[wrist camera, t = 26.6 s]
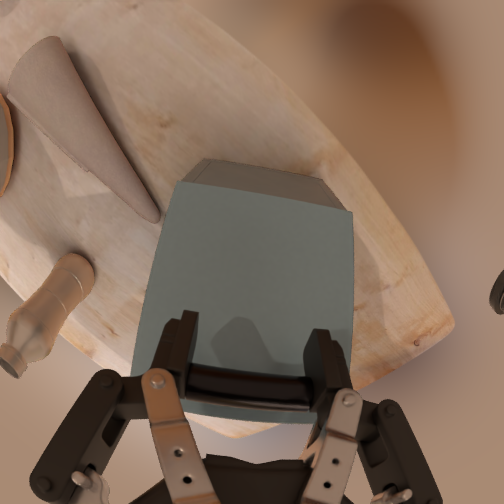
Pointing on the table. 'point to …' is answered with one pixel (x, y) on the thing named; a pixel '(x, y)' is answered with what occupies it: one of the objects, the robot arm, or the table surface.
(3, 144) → the desk lamp
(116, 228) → the table surface
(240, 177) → the grey box
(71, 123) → the beige long cone
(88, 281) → the plastic bottle
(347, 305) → the lid
